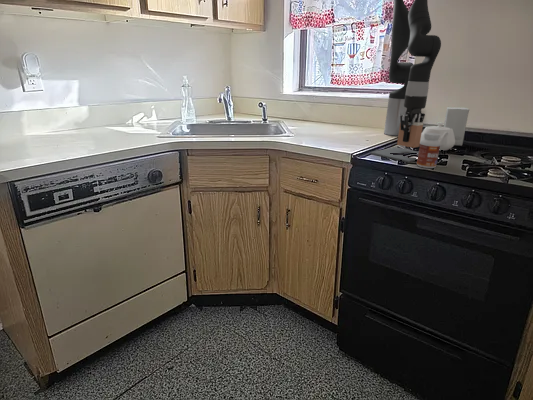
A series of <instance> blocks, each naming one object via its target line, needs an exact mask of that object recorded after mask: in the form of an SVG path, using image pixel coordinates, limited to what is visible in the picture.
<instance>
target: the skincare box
mask: <svg viewBox="0 0 533 400" xmlns="http://www.w3.org/2000/svg"><path fill="white" fill-rule="evenodd" d="M469 113H470V109H469V108H467V107H449V106H447V107H446V112H445V117H444V122H443V127H448V128H452V129H453V132H454V136H455V144H454V146H461V147H462V146H463V143H464V139H465V132H466V127H467V124H468V123H467V122H468V118H469Z"/></svg>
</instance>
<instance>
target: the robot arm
mask: <svg viewBox="0 0 533 400" xmlns="http://www.w3.org/2000/svg"><path fill="white" fill-rule="evenodd" d="M428 2H429V1H428V0H413V2H412V4H411V6H410V8H409V9H408V8H407V5H406V4H405V1H404V0H393V14H392V23H391V25H392V26H391V49H390V50H391V51H390V62H389V69H388V81H389V82H390V83H393V84H403V86H402V87H400V88H397V89H395V90H392V91H391V90H390V92H389V94H388V103H387V108H386V109H387V110H386V115H385V123H384V129H383V133H384V134H385V135H387V136H397V137H398V135H399V128H400V124H401V130H403V131H404V135H403V142H409V137H410V131H411V127H412V126H413V123H414V122H422V123H423V124H424V119H425V116H426V114H425V113H424V112H422V110H423V109H426V105H427V99H428V95H429V89H430V87H429V86H430V84H429V83H430V78H431V72H432V69H433V66H434V64H435V61H436V60H437V59H436V58H437V57H438V55H439V52H440V50H441V47H442V41H441V38H440V37H439V36H438V35H434V34H429V33H430V32H431V31H432V21H431V16H430V11H429V4H428ZM406 50H408V53H409V54H410V56H412V57H418V58H419V57H422V58H423V60H422V62H419V63H415V64H414V63H412V62H399V60H400V58H401V56H402V54H403V53H404V52H405V51H406ZM408 122H410V123H408ZM408 126H409V128H408Z"/></svg>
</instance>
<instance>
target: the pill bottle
mask: <svg viewBox="0 0 533 400" xmlns="http://www.w3.org/2000/svg"><path fill="white" fill-rule="evenodd" d="M439 136H440V134H437V133H424V139H423V140H422V141H421V143H420V145H419V147H418V148H419V149H418V152H419V154H418V159H417V161H416V165H417V166H418V167H420V168H424V169H434V168H436V166H437V163H438V159H439V153H440V150H439V149H440V142H439V141H438V139H439Z"/></svg>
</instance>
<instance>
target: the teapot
mask: <svg viewBox="0 0 533 400" xmlns="http://www.w3.org/2000/svg"><path fill="white" fill-rule="evenodd" d="M442 125H444V122H439V121H438V122H436V125H427V126H425V128H423V129H422V134H421V139H420V143H421V141H422V140H423V139H424V133H437V134H440V136H439V139H438V141H439V142H440V150H439V151H441V150H443V151H448V150H450V149H451V148H453V147H454V146H455V145H454V144H455V136H454V132H453V129H452V128H448V127H444V126H442Z"/></svg>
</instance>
